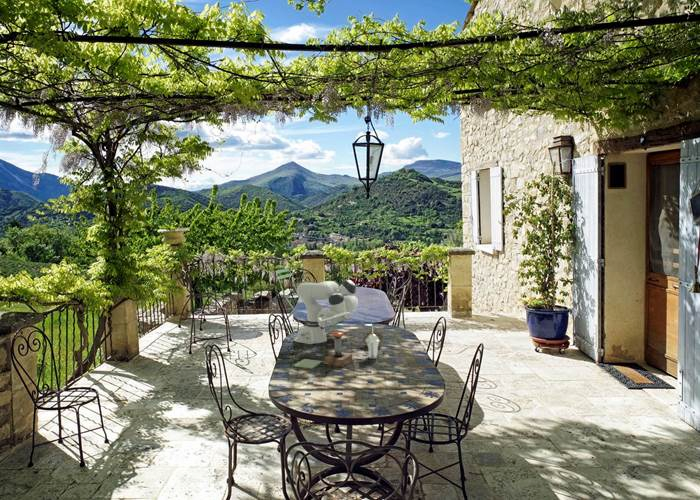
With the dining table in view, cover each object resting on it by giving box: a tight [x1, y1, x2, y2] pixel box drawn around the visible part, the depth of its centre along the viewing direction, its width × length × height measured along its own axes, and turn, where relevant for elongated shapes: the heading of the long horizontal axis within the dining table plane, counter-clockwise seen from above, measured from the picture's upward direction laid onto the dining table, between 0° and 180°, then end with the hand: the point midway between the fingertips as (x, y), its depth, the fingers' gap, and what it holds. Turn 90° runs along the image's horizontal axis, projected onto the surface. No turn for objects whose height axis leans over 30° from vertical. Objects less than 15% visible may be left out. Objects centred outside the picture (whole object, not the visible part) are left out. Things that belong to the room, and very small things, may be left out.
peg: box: [331, 331, 344, 358], centre depth 303 cm, size 6×6×17 cm
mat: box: [293, 358, 323, 370], centre depth 302 cm, size 12×12×1 cm
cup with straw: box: [363, 323, 380, 359], centre depth 312 cm, size 8×9×20 cm
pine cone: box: [349, 330, 385, 347], centre depth 336 cm, size 22×10×10 cm, turn 89°
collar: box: [323, 351, 353, 367], centre depth 304 cm, size 12×12×4 cm
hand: (339, 320), depth 314 cm, fingers open, 8 cm apart
